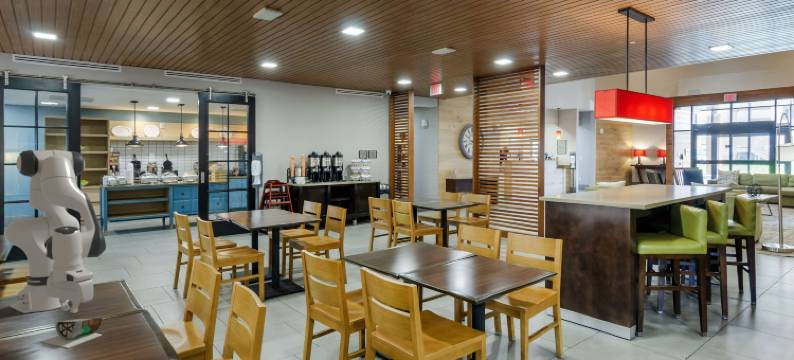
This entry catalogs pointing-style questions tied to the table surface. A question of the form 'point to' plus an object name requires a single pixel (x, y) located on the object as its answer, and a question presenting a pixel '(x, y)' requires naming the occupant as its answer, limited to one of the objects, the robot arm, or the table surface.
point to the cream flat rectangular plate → (71, 340)
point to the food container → (77, 327)
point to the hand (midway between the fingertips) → (70, 311)
